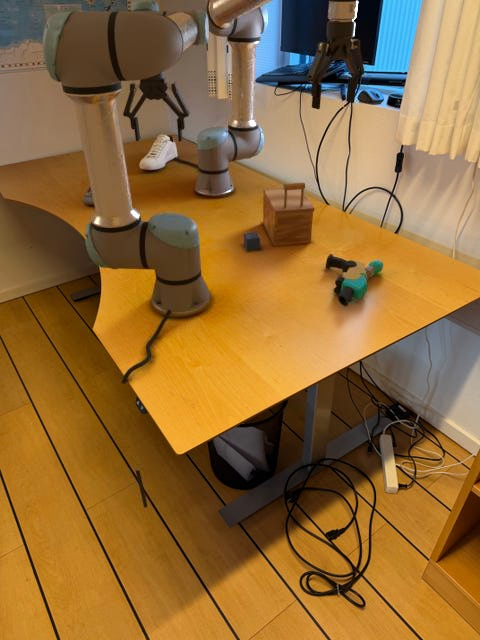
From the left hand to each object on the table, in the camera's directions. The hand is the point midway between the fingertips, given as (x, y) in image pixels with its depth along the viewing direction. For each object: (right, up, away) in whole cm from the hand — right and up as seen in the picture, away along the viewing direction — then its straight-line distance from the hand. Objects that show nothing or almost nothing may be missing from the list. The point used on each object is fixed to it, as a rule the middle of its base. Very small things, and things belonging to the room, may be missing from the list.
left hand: (159, 140), depth 150 cm
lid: (+41, -19, +2) cm, 45 cm away
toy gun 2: (+55, -47, -18) cm, 74 cm away
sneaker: (-12, +15, +68) cm, 70 cm away
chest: (+41, -27, +9) cm, 50 cm away
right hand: (+53, +7, -10) cm, 54 cm away
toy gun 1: (-25, -11, +33) cm, 43 cm away
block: (+29, -34, 0) cm, 45 cm away
